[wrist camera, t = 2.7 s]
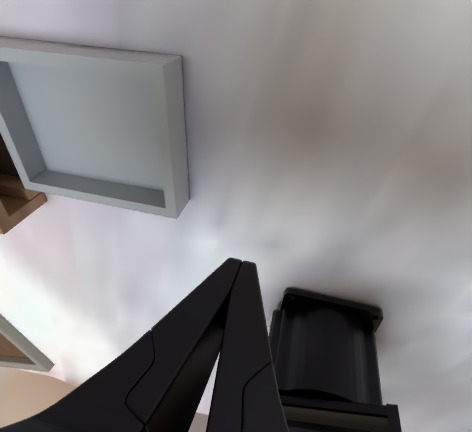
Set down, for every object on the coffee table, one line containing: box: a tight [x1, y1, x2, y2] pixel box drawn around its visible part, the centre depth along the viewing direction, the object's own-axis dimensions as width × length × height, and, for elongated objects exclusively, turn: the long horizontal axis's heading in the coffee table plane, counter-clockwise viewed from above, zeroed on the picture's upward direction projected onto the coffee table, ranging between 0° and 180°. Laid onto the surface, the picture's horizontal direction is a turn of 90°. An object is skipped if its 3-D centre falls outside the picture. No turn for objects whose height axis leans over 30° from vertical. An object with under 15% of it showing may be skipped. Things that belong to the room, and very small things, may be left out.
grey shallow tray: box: [0, 37, 189, 219], centre depth 17 cm, size 10×8×2 cm
